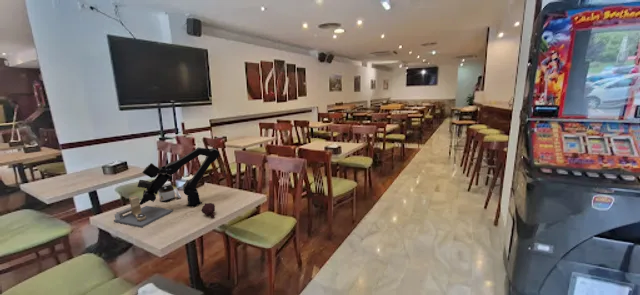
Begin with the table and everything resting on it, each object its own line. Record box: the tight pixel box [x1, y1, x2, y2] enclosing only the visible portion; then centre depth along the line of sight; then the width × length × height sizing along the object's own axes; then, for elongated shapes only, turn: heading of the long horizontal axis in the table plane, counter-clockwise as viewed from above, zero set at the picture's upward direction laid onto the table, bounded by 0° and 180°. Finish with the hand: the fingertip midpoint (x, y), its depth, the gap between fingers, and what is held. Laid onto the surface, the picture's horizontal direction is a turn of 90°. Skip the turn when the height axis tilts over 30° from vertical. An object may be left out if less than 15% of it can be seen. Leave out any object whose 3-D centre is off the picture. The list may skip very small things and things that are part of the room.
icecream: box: [200, 202, 216, 219], centre depth 150 cm, size 7×7×15 cm
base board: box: [113, 205, 174, 229], centre depth 150 cm, size 22×19×1 cm
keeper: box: [113, 206, 145, 220], centre depth 147 cm, size 14×16×4 cm
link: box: [128, 195, 146, 221], centre depth 147 cm, size 16×4×10 cm, turn 48°
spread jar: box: [157, 180, 182, 203], centre depth 173 cm, size 12×11×12 cm
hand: (140, 204), depth 149 cm, fingers closed
